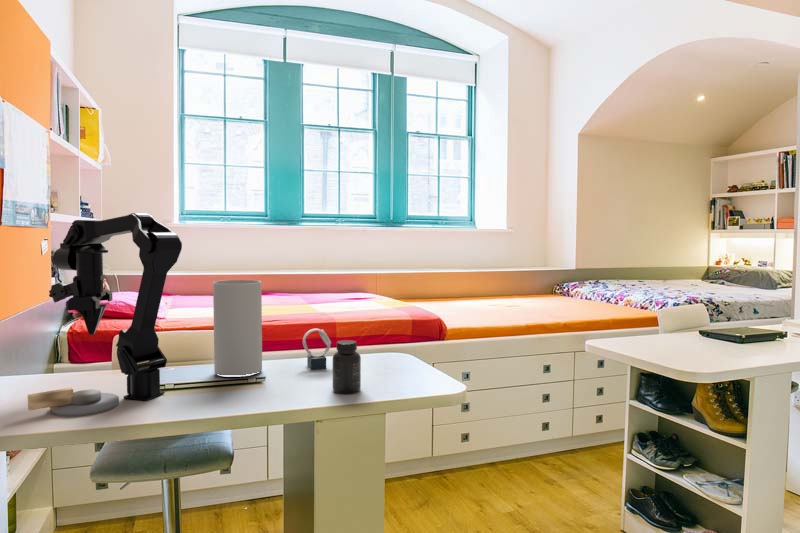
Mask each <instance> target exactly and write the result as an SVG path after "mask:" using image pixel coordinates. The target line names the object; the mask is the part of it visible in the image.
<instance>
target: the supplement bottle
mask: <svg viewBox="0 0 800 533" xmlns="http://www.w3.org/2000/svg"><path fill="white" fill-rule="evenodd" d="M357 350H358V347H357V341H356V340H349V339H347V340H346V339H344V340H338V341H337V342H336V352H334V353H333V355H332V392H334V393H335V394H338V395H352V394H357V393H359V392H360V391H361V387H362V385H361V382H362V381H361V378H362V376H361V375H362V374H361V372H362V366H361V365H362V363H361V362H362V361H361V360H362V359H361V354H360V353H359V352H357Z"/></svg>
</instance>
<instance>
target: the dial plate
mask: <svg viewBox="0 0 800 533" xmlns="http://www.w3.org/2000/svg"><path fill="white" fill-rule="evenodd" d="M119 397H120V396H119V395H117V394H116V393H109V392H101V400H99V401H97V402H94V403H90V404H83V405H74V404H64V405H59V406H53V407H49V409H50V413H51V414H52V415H54V416H58V417H64V418H65V417H66V418H67V417H70V418H71V417H72V418H73V417H82V416H90V415H95V414H99V413H100V414H101V413H103V412H107V411H110V410H112V409H115V408H116V407H117V406H119V404H120V401H119V400H120V398H119Z"/></svg>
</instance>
